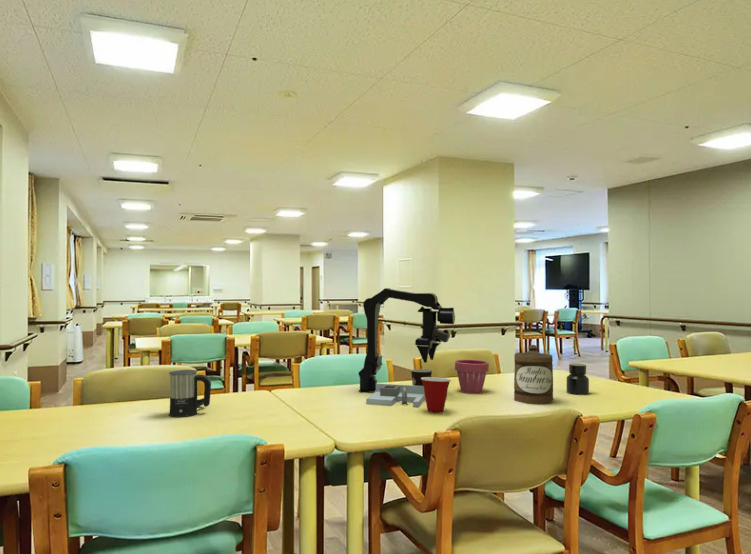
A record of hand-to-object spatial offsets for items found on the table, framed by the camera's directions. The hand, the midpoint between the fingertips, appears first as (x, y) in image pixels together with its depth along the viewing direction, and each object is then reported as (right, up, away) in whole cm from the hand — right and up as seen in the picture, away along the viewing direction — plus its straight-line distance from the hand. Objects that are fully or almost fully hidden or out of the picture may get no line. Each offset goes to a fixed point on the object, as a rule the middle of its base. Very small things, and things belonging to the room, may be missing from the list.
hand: (428, 361), depth 220 cm
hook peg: (-11, -14, -17) cm, 25 cm away
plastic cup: (0, -14, -28) cm, 32 cm away
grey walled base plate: (-14, -14, -13) cm, 23 cm away
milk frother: (-88, -13, -32) cm, 94 cm away
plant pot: (+19, -15, +9) cm, 26 cm away
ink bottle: (+64, -15, +7) cm, 66 cm away
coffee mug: (-3, -14, +2) cm, 15 cm away
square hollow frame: (-16, -12, -10) cm, 22 cm away
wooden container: (+41, -14, -9) cm, 44 cm away
